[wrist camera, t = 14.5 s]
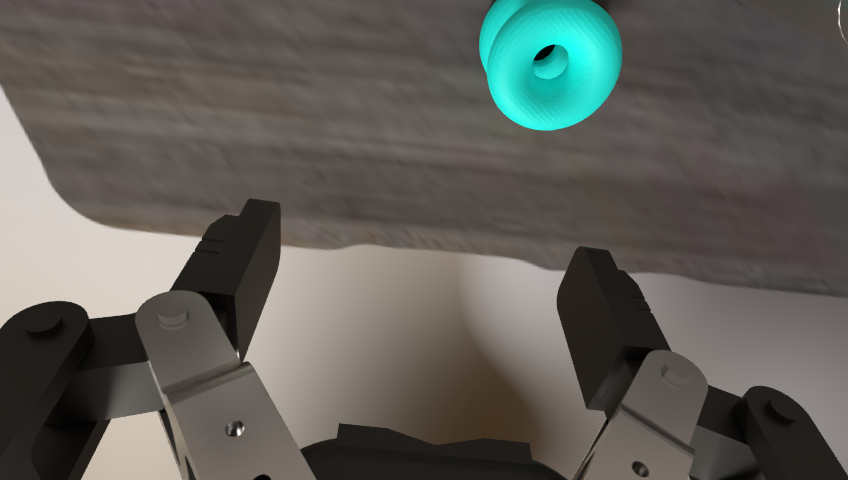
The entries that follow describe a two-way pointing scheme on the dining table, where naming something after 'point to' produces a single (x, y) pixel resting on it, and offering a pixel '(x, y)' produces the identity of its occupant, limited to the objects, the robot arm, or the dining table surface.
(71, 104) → the dining table surface
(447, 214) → the dining table surface
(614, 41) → the donuts
